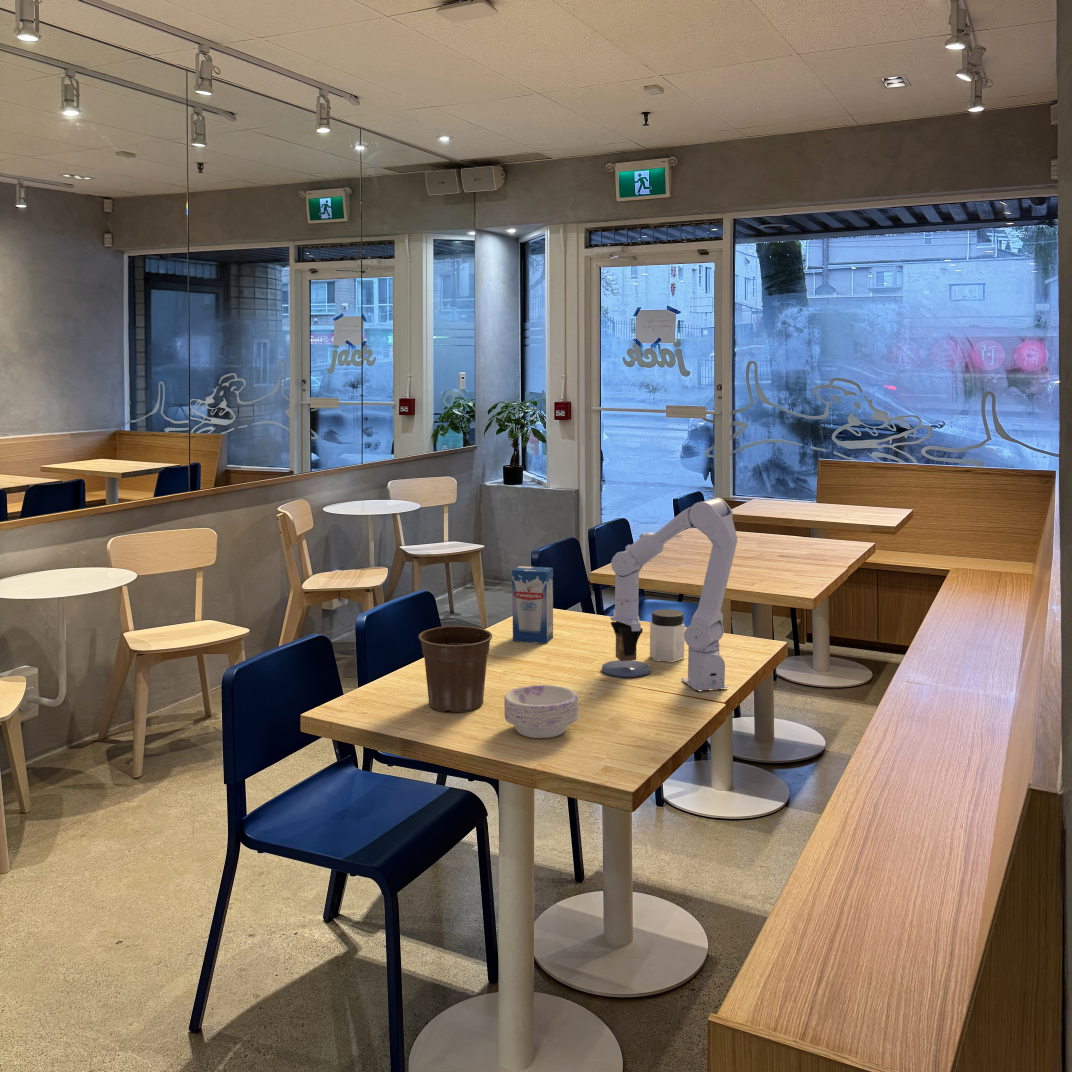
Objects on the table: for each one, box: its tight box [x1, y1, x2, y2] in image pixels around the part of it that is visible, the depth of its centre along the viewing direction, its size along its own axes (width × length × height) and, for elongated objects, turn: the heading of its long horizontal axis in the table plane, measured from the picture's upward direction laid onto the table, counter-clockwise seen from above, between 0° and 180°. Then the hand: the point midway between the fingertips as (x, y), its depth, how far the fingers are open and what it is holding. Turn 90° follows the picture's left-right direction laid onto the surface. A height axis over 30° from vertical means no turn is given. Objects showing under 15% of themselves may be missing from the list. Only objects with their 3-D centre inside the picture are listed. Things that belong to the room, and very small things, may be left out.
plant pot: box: [418, 625, 493, 714], centre depth 221 cm, size 16×16×16 cm
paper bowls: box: [503, 684, 579, 739], centre depth 205 cm, size 15×15×8 cm
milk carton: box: [511, 565, 554, 644], centre depth 275 cm, size 10×6×20 cm, turn 73°
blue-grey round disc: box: [601, 659, 651, 678], centre depth 247 cm, size 12×12×1 cm
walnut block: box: [615, 633, 638, 661], centre depth 246 cm, size 4×4×6 cm
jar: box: [649, 608, 686, 662], centre depth 257 cm, size 9×8×12 cm
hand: (626, 652), depth 246 cm, fingers closed on walnut block, 4 cm apart
